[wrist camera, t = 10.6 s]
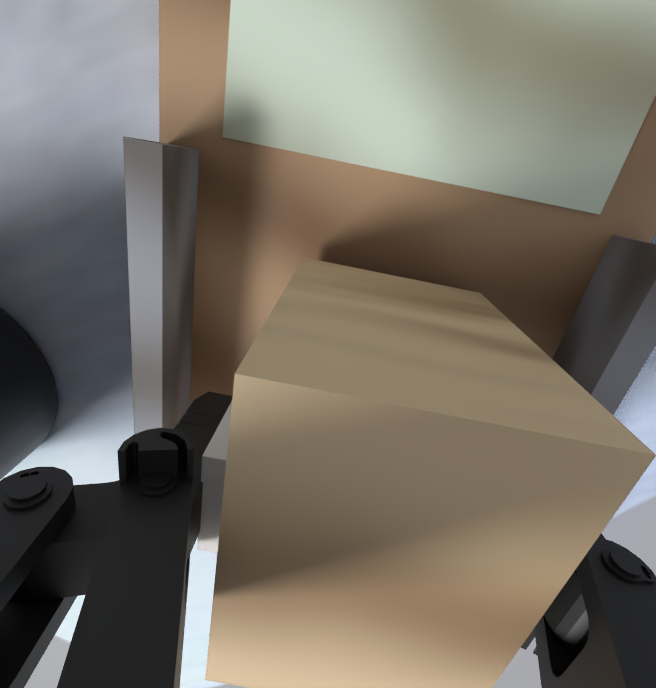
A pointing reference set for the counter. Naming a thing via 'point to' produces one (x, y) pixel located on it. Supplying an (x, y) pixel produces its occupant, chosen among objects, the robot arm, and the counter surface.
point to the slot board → (395, 175)
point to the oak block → (401, 488)
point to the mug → (22, 395)
